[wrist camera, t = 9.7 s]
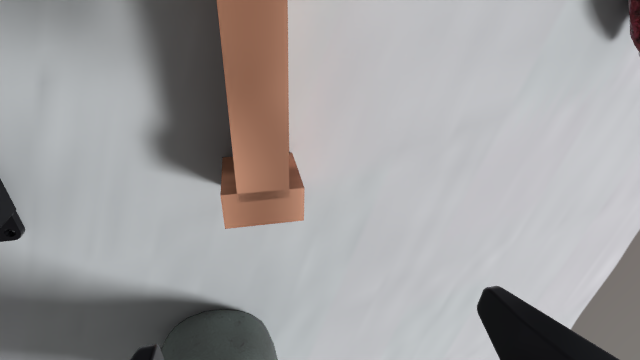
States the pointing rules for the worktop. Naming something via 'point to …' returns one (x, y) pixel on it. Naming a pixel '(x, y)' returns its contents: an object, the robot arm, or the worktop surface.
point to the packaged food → (635, 22)
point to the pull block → (258, 116)
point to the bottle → (219, 338)
